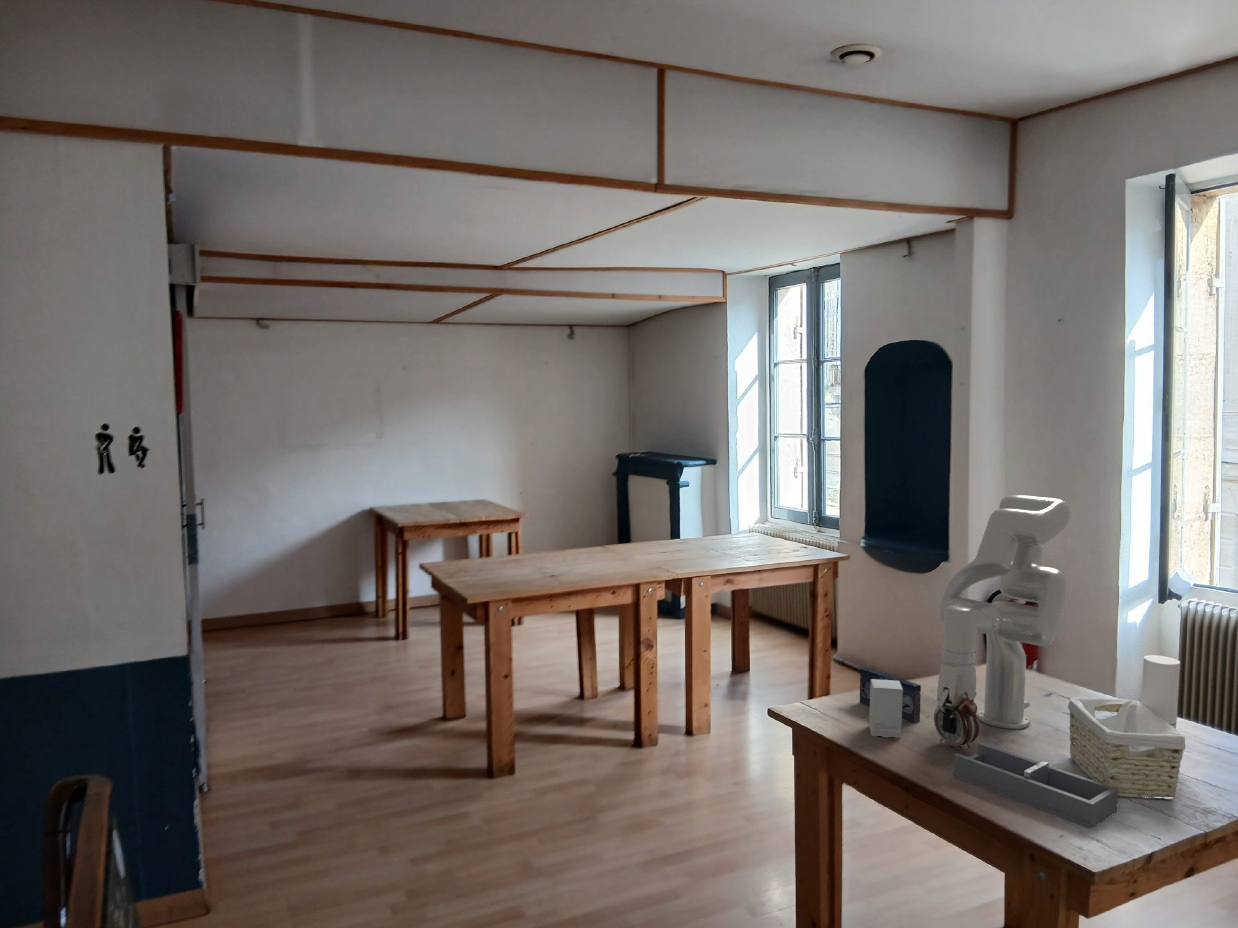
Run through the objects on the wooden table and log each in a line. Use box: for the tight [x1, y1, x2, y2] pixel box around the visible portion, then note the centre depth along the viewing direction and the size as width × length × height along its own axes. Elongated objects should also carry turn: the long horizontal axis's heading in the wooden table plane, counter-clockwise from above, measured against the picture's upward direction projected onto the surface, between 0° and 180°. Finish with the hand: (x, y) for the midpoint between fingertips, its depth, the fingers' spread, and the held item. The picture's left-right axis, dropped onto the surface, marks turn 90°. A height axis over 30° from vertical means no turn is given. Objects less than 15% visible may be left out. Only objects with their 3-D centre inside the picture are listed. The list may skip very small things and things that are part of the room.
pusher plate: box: [1024, 761, 1050, 785], centre depth 190 cm, size 8×1×5 cm, turn 128°
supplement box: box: [868, 679, 903, 739], centre depth 224 cm, size 7×7×13 cm
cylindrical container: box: [1140, 654, 1181, 730], centre depth 205 cm, size 7×7×25 cm
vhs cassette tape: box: [859, 667, 922, 724], centre depth 238 cm, size 18×3×10 cm, turn 33°
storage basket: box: [1067, 696, 1186, 799], centre depth 198 cm, size 24×16×15 cm
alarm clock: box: [933, 692, 980, 753], centre depth 215 cm, size 11×5×15 cm, turn 25°
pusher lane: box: [952, 742, 1119, 830], centre depth 190 cm, size 12×30×5 cm, turn 38°
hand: (956, 728), depth 215 cm, fingers closed on alarm clock, 5 cm apart
